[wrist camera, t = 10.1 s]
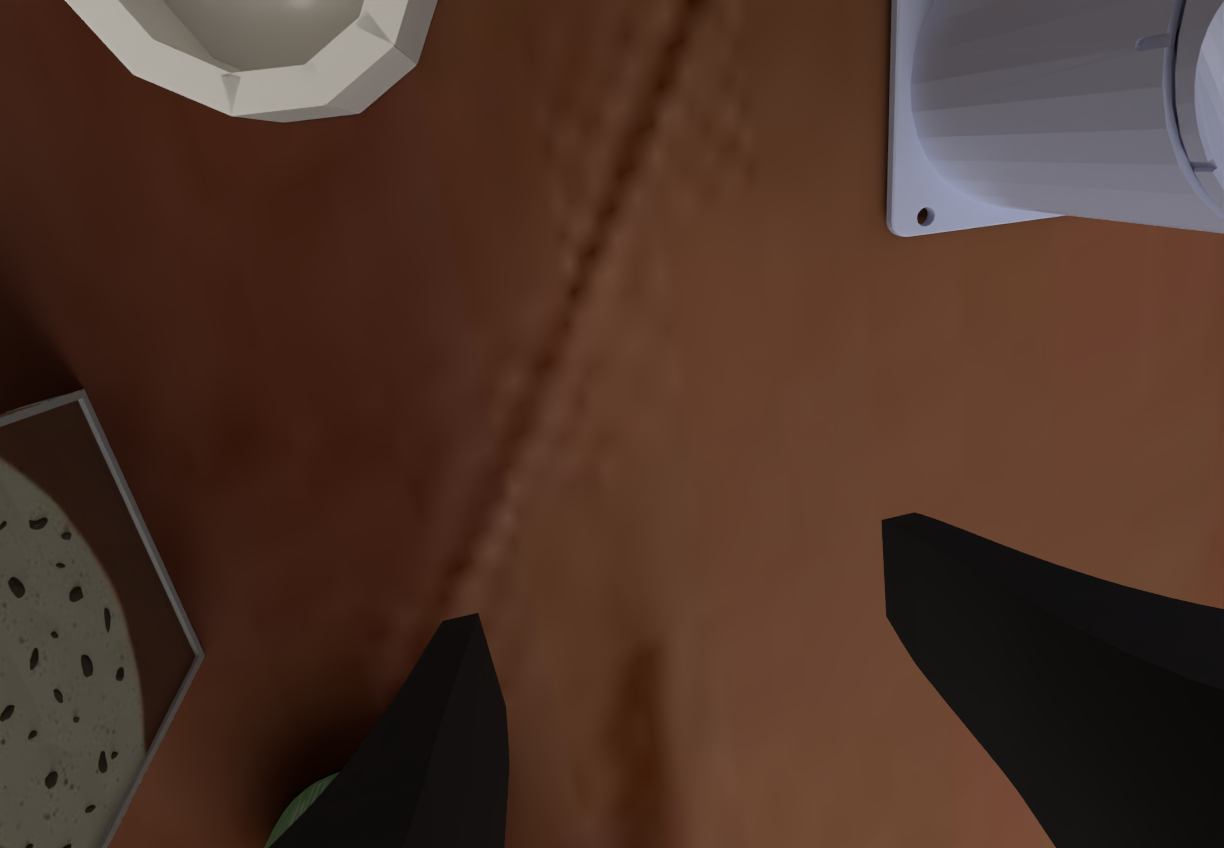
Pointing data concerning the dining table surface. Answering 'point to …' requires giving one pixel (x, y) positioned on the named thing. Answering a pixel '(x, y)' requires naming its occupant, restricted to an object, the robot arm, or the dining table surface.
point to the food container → (79, 632)
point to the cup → (266, 50)
